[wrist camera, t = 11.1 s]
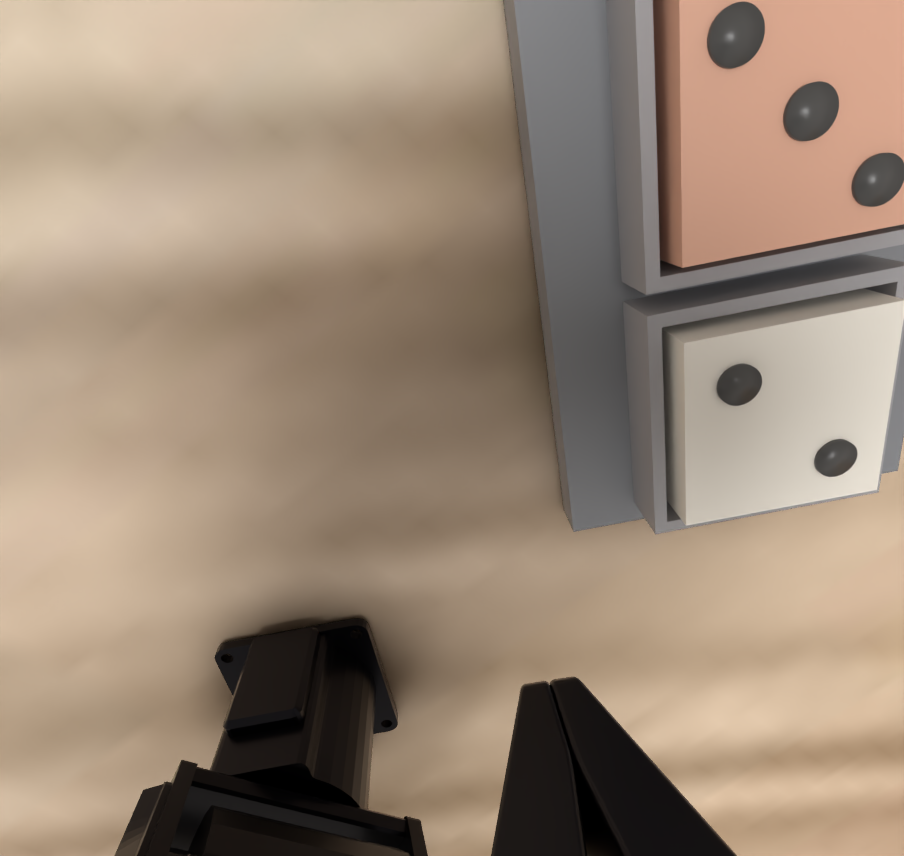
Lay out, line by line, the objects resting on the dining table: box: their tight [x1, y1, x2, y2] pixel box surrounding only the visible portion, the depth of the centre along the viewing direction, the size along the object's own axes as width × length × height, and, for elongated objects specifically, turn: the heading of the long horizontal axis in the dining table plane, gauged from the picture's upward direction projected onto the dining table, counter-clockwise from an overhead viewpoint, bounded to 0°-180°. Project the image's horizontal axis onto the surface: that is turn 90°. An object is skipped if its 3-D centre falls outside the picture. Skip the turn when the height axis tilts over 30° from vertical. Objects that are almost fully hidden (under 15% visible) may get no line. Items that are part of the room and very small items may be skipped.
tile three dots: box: [653, 0, 904, 268], centre depth 14 cm, size 6×6×3 cm
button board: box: [503, 0, 904, 534], centre depth 15 cm, size 25×12×4 cm, turn 10°
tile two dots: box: [662, 288, 904, 526], centre depth 18 cm, size 6×6×3 cm
